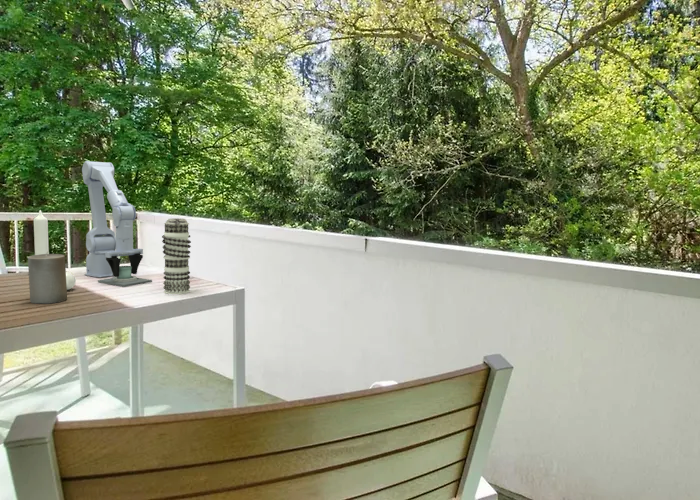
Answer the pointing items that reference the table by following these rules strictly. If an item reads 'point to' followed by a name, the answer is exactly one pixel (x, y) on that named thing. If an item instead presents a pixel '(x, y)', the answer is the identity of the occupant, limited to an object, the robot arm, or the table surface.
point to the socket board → (125, 281)
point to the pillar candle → (47, 278)
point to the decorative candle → (176, 256)
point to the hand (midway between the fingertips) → (125, 275)
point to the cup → (124, 272)
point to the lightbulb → (70, 280)
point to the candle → (41, 234)
